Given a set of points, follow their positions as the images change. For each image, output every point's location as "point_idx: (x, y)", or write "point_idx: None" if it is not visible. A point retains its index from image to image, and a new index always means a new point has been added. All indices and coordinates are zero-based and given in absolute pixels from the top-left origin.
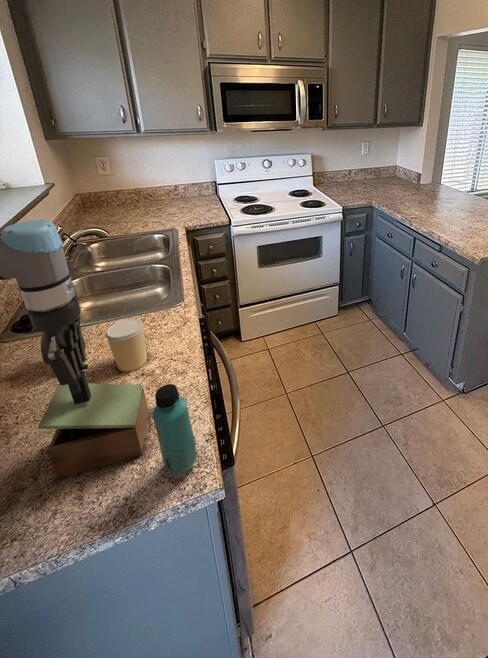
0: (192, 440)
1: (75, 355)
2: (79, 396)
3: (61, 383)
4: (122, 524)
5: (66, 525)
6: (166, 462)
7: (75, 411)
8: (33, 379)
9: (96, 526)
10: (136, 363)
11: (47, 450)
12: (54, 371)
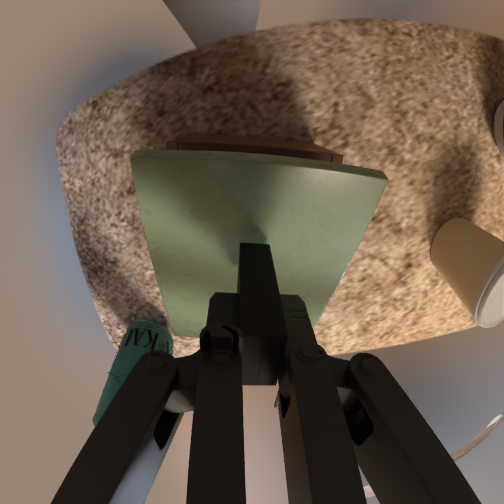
0: None
1: (289, 482)
2: (238, 282)
3: (133, 373)
4: (81, 260)
5: (92, 180)
6: (124, 339)
7: (209, 245)
8: (488, 70)
9: (83, 226)
10: (436, 262)
11: (167, 142)
12: (71, 474)
